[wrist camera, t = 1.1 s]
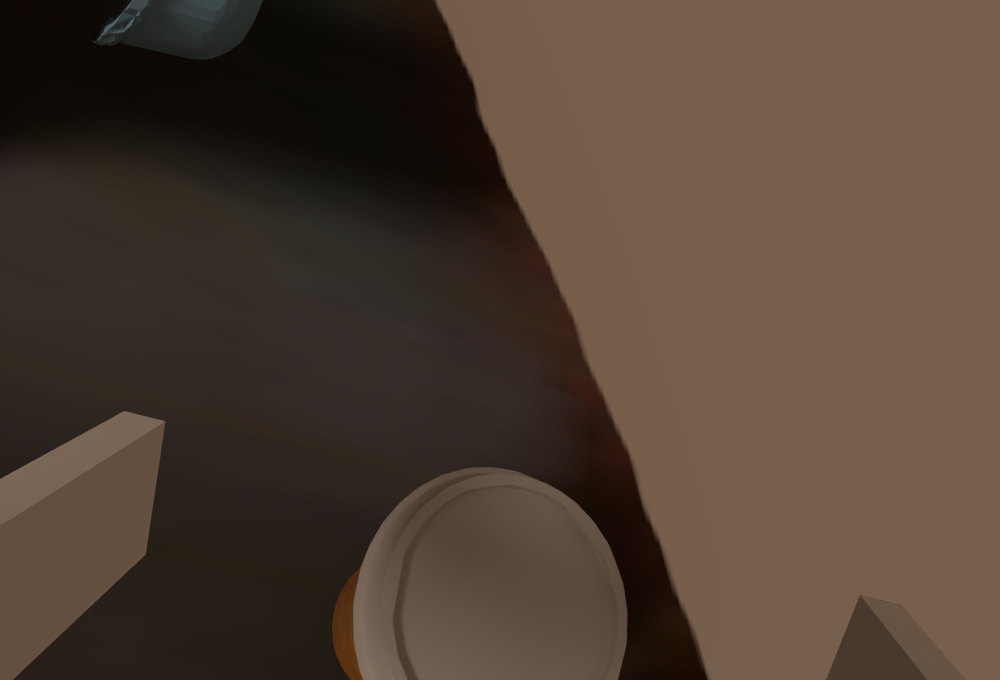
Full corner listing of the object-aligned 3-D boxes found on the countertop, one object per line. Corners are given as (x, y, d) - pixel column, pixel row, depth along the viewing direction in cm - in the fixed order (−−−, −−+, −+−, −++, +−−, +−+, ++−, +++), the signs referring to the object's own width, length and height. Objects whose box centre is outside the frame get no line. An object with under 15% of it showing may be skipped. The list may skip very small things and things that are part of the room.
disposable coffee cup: (514, 707, 33) (672, 729, 23) (307, 773, 29) (391, 835, 19) (475, 503, 36) (599, 444, 26) (282, 534, 32) (342, 478, 22)
